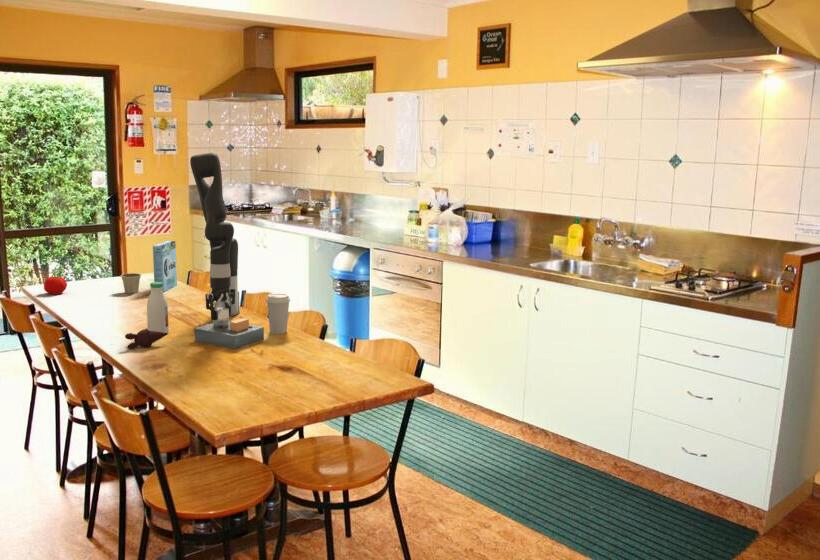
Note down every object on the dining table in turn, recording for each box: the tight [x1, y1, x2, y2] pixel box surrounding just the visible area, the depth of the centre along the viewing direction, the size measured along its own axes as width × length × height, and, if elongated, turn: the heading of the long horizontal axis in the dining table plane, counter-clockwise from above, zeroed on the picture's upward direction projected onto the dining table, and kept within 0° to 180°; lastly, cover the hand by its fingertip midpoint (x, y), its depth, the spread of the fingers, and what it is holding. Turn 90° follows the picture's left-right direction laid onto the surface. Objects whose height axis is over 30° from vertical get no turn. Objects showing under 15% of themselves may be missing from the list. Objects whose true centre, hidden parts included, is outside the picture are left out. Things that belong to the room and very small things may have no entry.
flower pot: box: [120, 272, 142, 295], centre depth 363 cm, size 9×9×9 cm
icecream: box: [124, 327, 169, 350], centre depth 272 cm, size 7×7×15 cm
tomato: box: [43, 276, 68, 295], centre depth 356 cm, size 9×10×8 cm
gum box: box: [152, 240, 178, 293], centre depth 373 cm, size 20×5×23 cm, turn 178°
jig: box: [193, 320, 265, 350], centre depth 283 cm, size 16×20×6 cm
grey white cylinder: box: [212, 308, 230, 328], centre depth 284 cm, size 6×6×11 cm
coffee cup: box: [265, 292, 291, 335], centre depth 296 cm, size 10×10×15 cm
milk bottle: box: [146, 281, 169, 333], centre depth 290 cm, size 8×8×20 cm
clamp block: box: [230, 317, 250, 332], centre depth 280 cm, size 7×3×3 cm, turn 151°
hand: (221, 318), depth 284 cm, fingers open, 6 cm apart
